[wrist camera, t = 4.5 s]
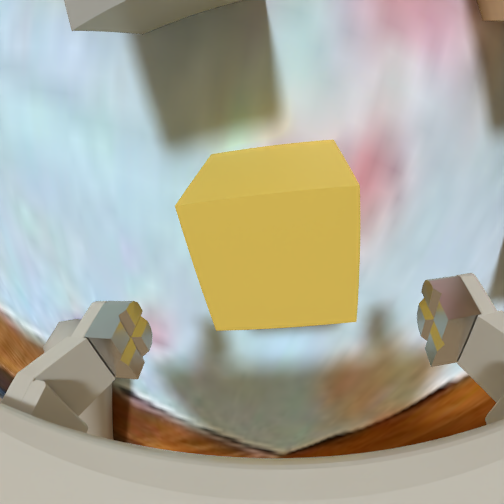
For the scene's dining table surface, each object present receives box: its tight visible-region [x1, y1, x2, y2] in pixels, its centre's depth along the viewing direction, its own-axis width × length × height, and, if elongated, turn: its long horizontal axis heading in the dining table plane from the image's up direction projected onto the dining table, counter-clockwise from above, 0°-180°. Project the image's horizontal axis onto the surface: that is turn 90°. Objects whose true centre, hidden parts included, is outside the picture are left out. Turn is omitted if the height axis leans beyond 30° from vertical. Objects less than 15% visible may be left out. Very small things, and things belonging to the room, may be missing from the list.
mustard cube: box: [175, 140, 360, 331], centre depth 12 cm, size 5×5×5 cm
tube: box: [43, 319, 114, 440], centre depth 24 cm, size 5×5×25 cm
